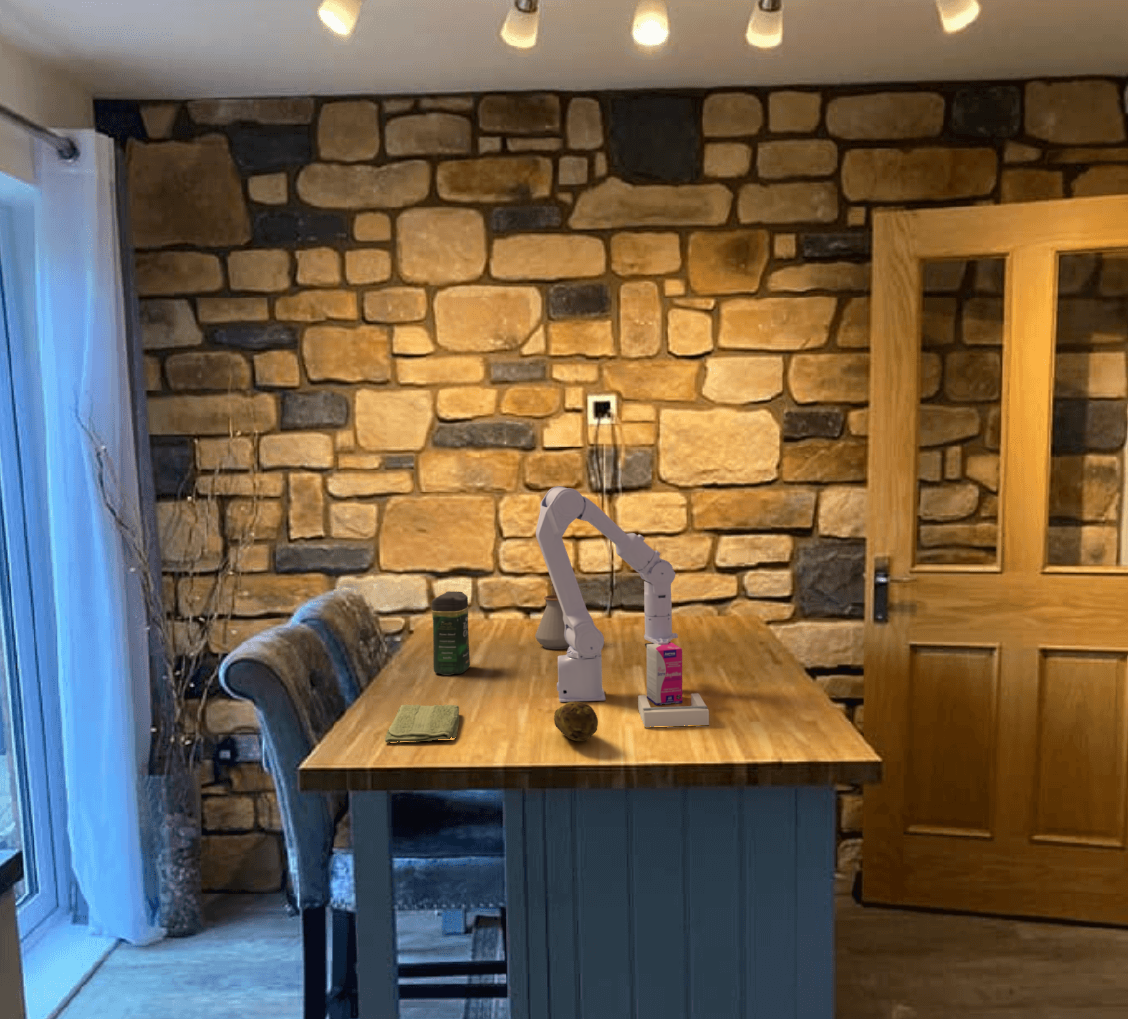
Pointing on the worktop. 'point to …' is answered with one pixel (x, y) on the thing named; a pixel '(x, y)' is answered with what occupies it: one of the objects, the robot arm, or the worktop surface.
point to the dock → (674, 713)
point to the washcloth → (424, 723)
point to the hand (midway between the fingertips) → (659, 677)
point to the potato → (576, 720)
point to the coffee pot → (552, 625)
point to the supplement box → (664, 673)
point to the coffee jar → (450, 633)
